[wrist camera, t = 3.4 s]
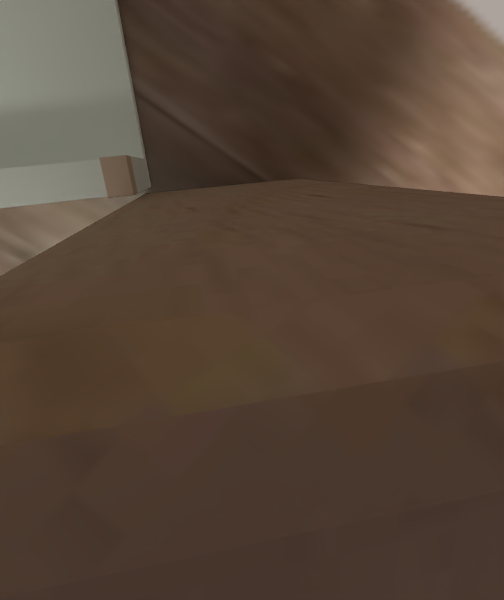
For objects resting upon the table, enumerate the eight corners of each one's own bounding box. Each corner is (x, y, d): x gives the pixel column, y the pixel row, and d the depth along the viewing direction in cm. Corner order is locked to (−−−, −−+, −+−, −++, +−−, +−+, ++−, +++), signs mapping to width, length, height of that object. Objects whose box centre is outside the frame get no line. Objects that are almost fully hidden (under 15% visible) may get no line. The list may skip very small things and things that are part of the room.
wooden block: (129, 193, 20) (-703, 545, 1) (310, 176, 21) (1204, 233, 3) (161, 359, 23) (50, 1103, 5) (315, 335, 25) (709, 860, 6)
